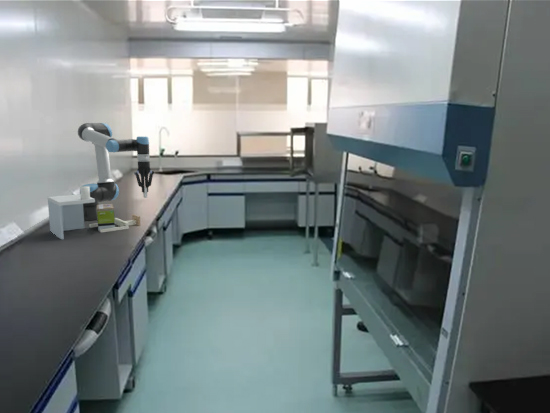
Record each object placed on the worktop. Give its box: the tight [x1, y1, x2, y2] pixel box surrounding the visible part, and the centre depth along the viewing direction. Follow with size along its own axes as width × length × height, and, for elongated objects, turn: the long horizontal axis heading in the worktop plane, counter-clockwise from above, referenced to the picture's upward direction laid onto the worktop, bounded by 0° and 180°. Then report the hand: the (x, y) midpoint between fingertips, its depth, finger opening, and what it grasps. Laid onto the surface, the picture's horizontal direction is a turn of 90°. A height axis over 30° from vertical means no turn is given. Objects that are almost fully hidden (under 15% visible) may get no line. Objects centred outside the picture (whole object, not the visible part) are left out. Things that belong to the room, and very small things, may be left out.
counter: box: [47, 193, 95, 240], centre depth 302 cm, size 24×20×22 cm
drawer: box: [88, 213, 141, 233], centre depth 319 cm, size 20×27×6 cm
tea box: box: [96, 203, 116, 232], centre depth 315 cm, size 15×10×15 cm, turn 21°
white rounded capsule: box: [79, 185, 90, 199], centre depth 297 cm, size 5×5×7 cm
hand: (145, 197), depth 329 cm, fingers closed
